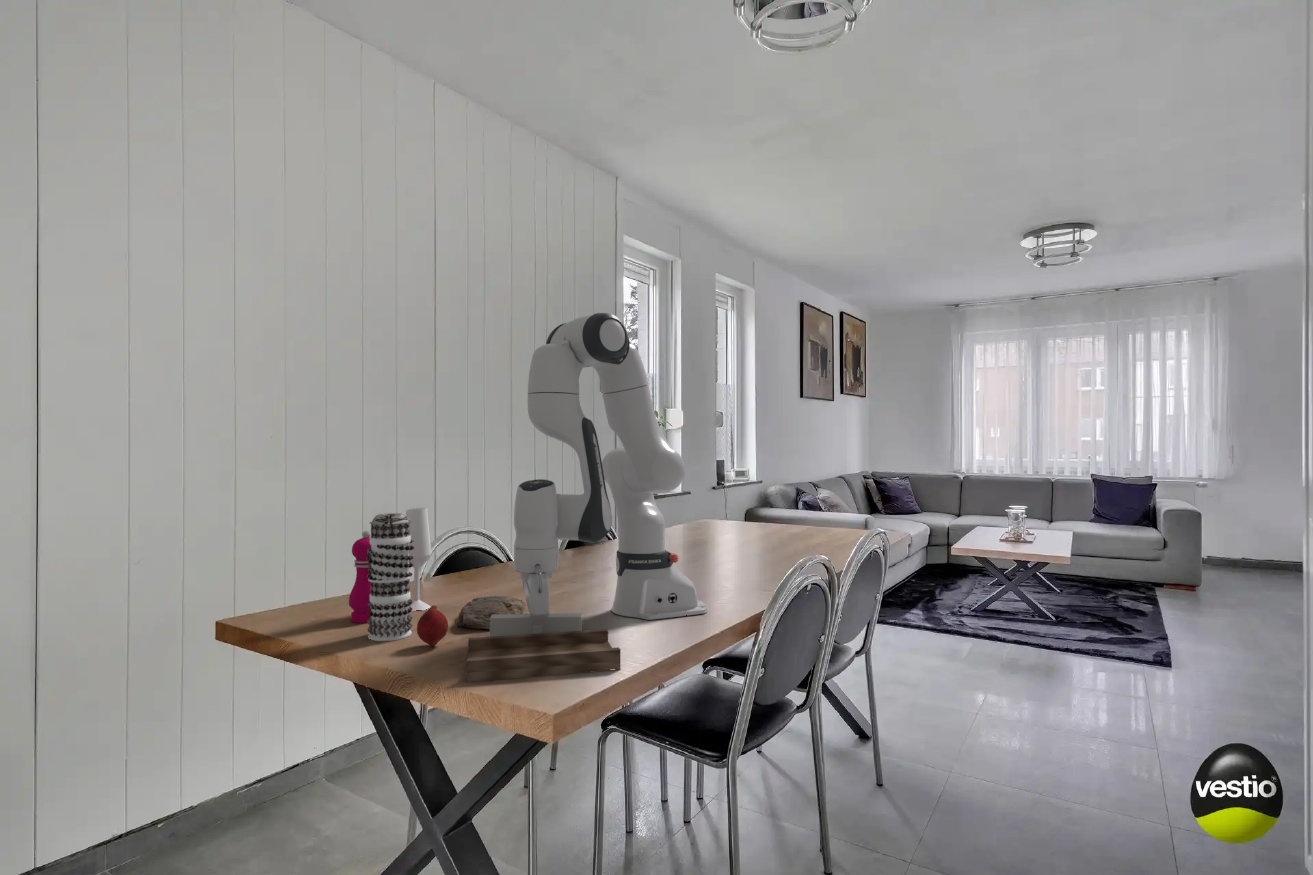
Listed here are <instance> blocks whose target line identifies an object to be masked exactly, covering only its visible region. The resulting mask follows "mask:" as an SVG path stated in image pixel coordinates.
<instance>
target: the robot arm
mask: <svg viewBox="0 0 1313 875" xmlns="http://www.w3.org/2000/svg"><path fill="white" fill-rule="evenodd" d="M590 367H592V368H593V369H594V370H595V371H596V373H597V375H598V377H599V384H600V389H601V390H600V391H601V393H602V400H603V404H604V409H605V415H606V419H607V423H608V426H609V428H610V429H611V430H612V431H613V432H614V433H615V434H616V436H617V437H618V438H619V441H620V442H621V444H622V446H620V447H617V448H614V449H611V450H610V451H609V452H607V453H606V454H605V456H604V457H603V459H602V455H601V450H600V444H599V441H598V440H599V439H598V434H597V431H596V430H597V429H596V428H595V424H594V423H593V421H592V420H591V419H589V418H587V417H586V415H585V414H584V412H583V410H582V407H581V402H580V401H581V400H580V376H581V373H582V370H583V368H590ZM527 380H528V382H527V413H528V417H529V418H528V419H529V420H530V422H531V424H532V425H533V426H534V428H536V430H537V431H539V432H540V433H542V434H544V435H545V436H548V437H550V438H552V439H554V440H557V441H560V442H562V443H565V444H566V445H568V446H569V447H570V448H572V449H573V450H574V452H576V454H577V456H578V460H579V466H580V468H579V469H580V473H581V480H582V481H581V482H582V486H583V487H582V488H583V493H581V494H561V493H557V489H556V484H555V482H554V481H552V480H549V479H533V480H526V481H523V482H522V483H519V485H518V486H517V489H516V493H515V500H514V508H513V509H514V511H513V527H514V530H515V540H514V545H513V570H514V572H518V573H520V576H519V577H520V579H521V580H522V587H523V593H524V594H523V595H524V598H525V603H526V604H527V608H528V609H527V610H528V614H530V617H531V618H532V631H533V633H534V634H538V633H542V622H543V618H544V617H548V616H549V614H550V605H551V604H550V579H552V578H553V572H555V571H557V570H558V569H559V542H558V540H561V541H562V540H563V541H565V540H566V541H580V542H584V543H585V542H586V543H592V544H594V543H595V544H596V543H598V542H599V541H601V540H603V539H604V538H605V537H606V536H607V535H608V534H609V533H610V532H611V530H612V526H613V513H612V509H611V503H610V500H609V496H608V491H607V488H606V487H607V486H606V484H607V485H608V486H609V489H610V492H611V496H612V499H613V502H614V506H615V510H616V516H617V533H618V534H617V539H618V548H617V549H618V550H617V551H616V556H615V572H616V575H617V579H616V587H615V595H614V600H613V603H612V607H611V612H612V613H614V614H615V615H619V616H622V617H628V618H629V617H630V618H637V619H641V620H642V619H643V620H646V621H647V620H648V621H649V620H650V621H653V620H660V619H669V618H677V617H685V616H686V615H687V616H693V615H702V614H706V613H707V612H708V606H707V605H706V603H705V602H703V601H702V600H699V599H698V593H697V589H696V586H695V584H694V582H693V581H692V580H691V579H689V578H688V577H687V576H686V575H685V574H684V573H682V572H681V571H680V570H678V569H677V568H676V567H674V566H673V564H676V563H678V562H679V559H680V556H678V554H677V553H675V552H674V553H672V552H670V551H668V550H666V521H665V517H664V515H663V513H662V511H661V510H660V509H659V507H658V506H657V502H656V500H655V497H654V495H655V494H663V493H667V492H670V491H673V490H676V489H677V488H678V487H679V486H680V485H681V484H682V482H683V480H684V478H685V473H686V466H685V462H684V460H683V458H682V455H681V454H680V453H679V452H677V451H676V450H675V449H674V448H673V447H672V445H671V444H670V443H669V442H668V440H667V438H666V437H665V434H664V433H663V430H662V428H661V426H660V424H659V422H658V419H657V417H656V414H655V413H656V412H655V409H654V406H653V401H652V400H653V399H652V396H651V391H650V385H649V382H648V377H647V372H646V369H645V366H644V363H643V361H642V358H641V355H640V352H639V351H638V348H637V347H636V346H635V345H634V344H632V343H631V342H630V338H629V334H628V332H627V329H626V327H625V324H624V323H623V322H622V320H621V319H620V318H619V317H618V316H616V315H614V314H612V313H607V312H597V313H594V314H589V315H583V316H579V317H577V318H575V319H573V320H570V321H569V322H565V323H561V324H559V325H557V326H556V327H554V328H553V330H551V332H550V333H549V335H548V337H547V339H546V342H545V344H543V345H541V346H538V347H537V348H536V349H535V350H534V352H533V354H532V357H531V362H530V368H529V373H528V379H527ZM687 616H686V617H687Z"/></svg>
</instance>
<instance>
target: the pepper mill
mask: <svg viewBox="0 0 1313 875" xmlns="http://www.w3.org/2000/svg"><path fill="white" fill-rule="evenodd" d="M361 535H362V537H361V538H359V539H356V541H355V542H354V543H353V544H352V547H351V554H352V556H353V557H354V558H355V560H354V561H353V562H354V565H353V566H354V567H355V568H356V569H355V571H356V574H355V576H356V577H355V581H354V585H353V586H352V589H351V592H350V593H349V597H348V605H349V607H350V608H351V609H352V610H353V611H352V612H351V614H350V621H351V622H352V623H355V624H368V623H367V621H368V620H369V619H370V617H371V616H369V614H368V611H369V610H370V609H371V608H369V607H368V604H369V603H370V594H371V582H370V581H368V578H367V575H369V571H368V570H367V568H368V566H369V565H371V563H369V562H368V561H367V560H366V558H367V557H368V556H369V555H368V553H367V552H366V551H367V549H368V548H370V547H371V544H370V537H371V531H368V530H364V531H363V532H362V534H361Z"/></svg>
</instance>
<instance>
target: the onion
mask: <svg viewBox="0 0 1313 875" xmlns="http://www.w3.org/2000/svg"><path fill="white" fill-rule="evenodd" d="M430 606H431V607H430V608H429V609H427V610H425V612H424V613H423V614H422V615H421V616H420V618H419V620H418V622H417V625H416V632H417V633H416V634H417V636H418V637H419V639H420V640H421V641H422V642H424V643H426V644H427V645H428V646H431V647H434V646H436V645H437V644H438V643H439V642H440V641H442V640H443V639H444V638H445V636H446V635H447V633H448V629H449V622H448V619H447V617H446V615H445V614H444V613H443V612H441V611H440V610H438V609H437V607H438V605H436V604H431V605H430Z"/></svg>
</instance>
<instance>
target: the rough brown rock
mask: <svg viewBox="0 0 1313 875" xmlns="http://www.w3.org/2000/svg"><path fill="white" fill-rule="evenodd" d="M525 610H526V600H524V599H521V598H515V597H514V596H503V595H501V596H499V595H498V596H496V595H494V596H482V597H481V596H480V597H476V598H475V597H474V598H473V599H472V600H471V601H468V602H467V603H466V604H465V605H464V606H463V607H462V608H461V610H460V612H459V613H458V615H457V617H456V620H455V624H456V626H458V627H461V628H465V627H467V629H477V630H478V629H485V630H490V617H491V616H492V615H497V614H524V611H525Z"/></svg>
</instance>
